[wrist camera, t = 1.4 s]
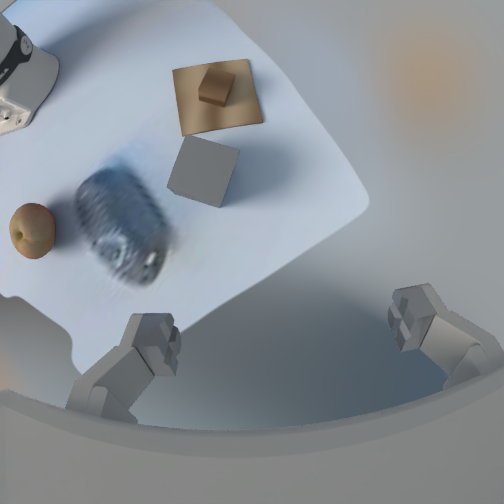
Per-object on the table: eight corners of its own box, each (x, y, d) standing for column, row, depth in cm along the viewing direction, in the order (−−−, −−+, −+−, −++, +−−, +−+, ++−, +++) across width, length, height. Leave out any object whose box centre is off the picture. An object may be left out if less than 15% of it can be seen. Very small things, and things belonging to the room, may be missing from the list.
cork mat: (182, 136, 37) (182, 135, 37) (172, 71, 35) (172, 70, 35) (262, 122, 38) (263, 122, 38) (246, 60, 37) (247, 58, 37)
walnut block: (224, 107, 37) (225, 96, 33) (198, 100, 36) (198, 88, 32) (233, 86, 37) (235, 74, 33) (208, 79, 36) (208, 66, 32)
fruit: (23, 242, 34) (-5, 246, 26) (38, 197, 34) (10, 193, 26) (55, 263, 36) (28, 271, 28) (71, 216, 36) (45, 216, 28)
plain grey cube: (219, 208, 39) (221, 204, 31) (174, 194, 38) (166, 186, 30) (233, 164, 39) (240, 150, 31) (190, 151, 37) (186, 134, 30)
